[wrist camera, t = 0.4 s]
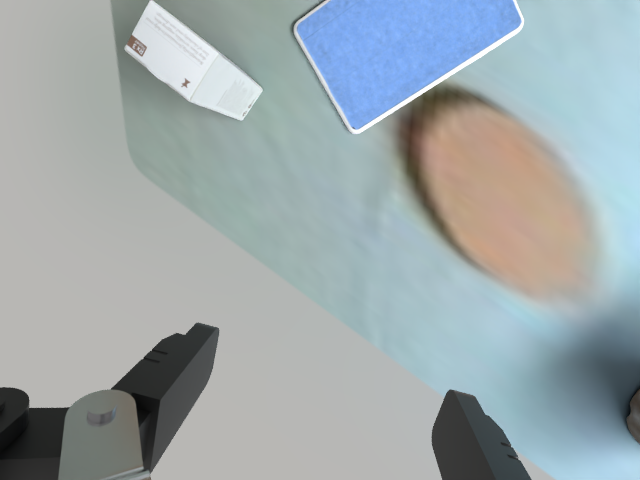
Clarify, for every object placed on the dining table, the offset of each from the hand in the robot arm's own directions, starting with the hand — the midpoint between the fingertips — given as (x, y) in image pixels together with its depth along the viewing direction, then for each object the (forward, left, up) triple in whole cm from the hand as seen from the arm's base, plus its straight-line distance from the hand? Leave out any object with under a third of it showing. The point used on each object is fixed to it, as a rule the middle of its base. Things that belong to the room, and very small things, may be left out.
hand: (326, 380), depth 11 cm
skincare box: (-3, -19, -27) cm, 33 cm away
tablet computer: (-19, -9, -28) cm, 35 cm away
